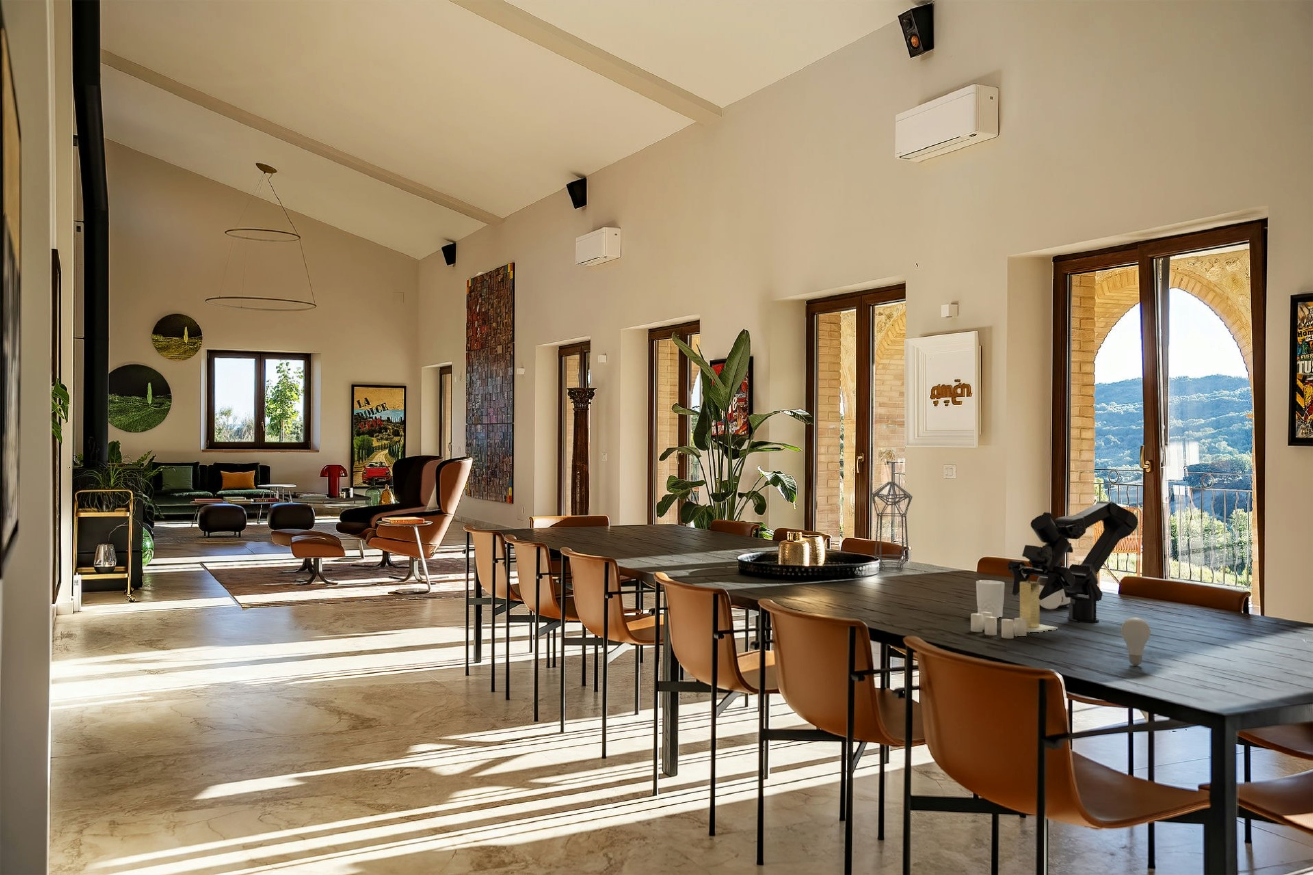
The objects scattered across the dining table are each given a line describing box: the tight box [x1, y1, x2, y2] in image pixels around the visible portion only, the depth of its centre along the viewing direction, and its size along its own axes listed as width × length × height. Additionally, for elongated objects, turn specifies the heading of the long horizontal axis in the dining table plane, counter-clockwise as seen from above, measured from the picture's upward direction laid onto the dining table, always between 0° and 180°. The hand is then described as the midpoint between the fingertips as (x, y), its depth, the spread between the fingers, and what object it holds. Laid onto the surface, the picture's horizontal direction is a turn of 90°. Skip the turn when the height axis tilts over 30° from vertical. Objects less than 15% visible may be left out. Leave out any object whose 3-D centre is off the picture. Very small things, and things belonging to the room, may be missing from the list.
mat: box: [1027, 623, 1058, 633], centre depth 275 cm, size 10×10×1 cm
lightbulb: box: [1120, 617, 1151, 667], centre depth 230 cm, size 6×6×11 cm
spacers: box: [970, 612, 1028, 639], centre depth 268 cm, size 8×14×4 cm, turn 32°
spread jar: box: [1036, 576, 1070, 610], centre depth 311 cm, size 12×11×12 cm
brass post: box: [1019, 580, 1040, 628], centre depth 275 cm, size 4×4×12 cm
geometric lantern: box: [870, 480, 913, 571], centre depth 400 cm, size 16×16×35 cm
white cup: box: [975, 579, 1005, 619], centre depth 294 cm, size 8×8×10 cm
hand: (1026, 596), depth 275 cm, fingers open, 8 cm apart
